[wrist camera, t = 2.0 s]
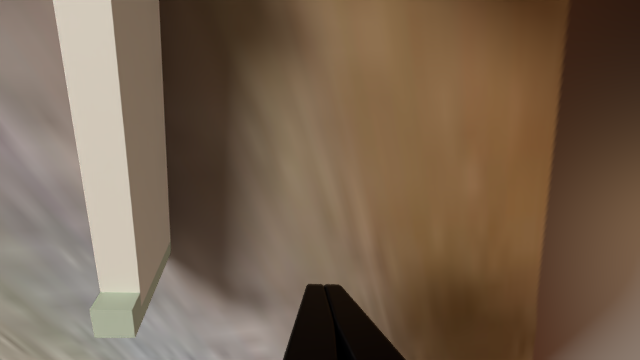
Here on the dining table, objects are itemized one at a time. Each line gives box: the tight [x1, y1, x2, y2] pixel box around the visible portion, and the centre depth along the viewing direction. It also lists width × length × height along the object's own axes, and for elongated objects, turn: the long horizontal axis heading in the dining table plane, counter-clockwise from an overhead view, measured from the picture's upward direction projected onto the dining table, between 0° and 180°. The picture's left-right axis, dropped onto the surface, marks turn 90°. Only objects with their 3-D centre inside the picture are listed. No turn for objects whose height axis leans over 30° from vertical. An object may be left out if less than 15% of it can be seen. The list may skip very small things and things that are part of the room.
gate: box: [53, 0, 171, 338], centre depth 14 cm, size 16×2×6 cm, turn 172°
